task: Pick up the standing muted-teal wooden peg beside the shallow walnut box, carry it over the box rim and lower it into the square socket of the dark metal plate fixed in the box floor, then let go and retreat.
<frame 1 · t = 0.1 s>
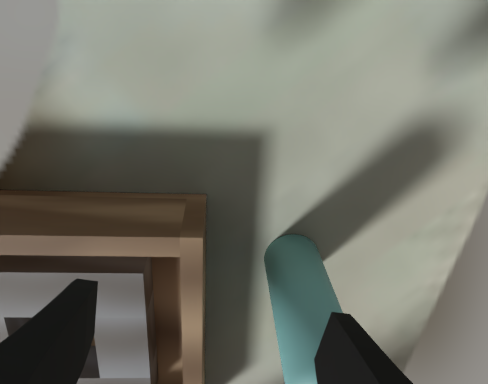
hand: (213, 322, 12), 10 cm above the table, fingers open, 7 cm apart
box: (73, 311, 24), on the table
peg: (291, 257, 24), on the table
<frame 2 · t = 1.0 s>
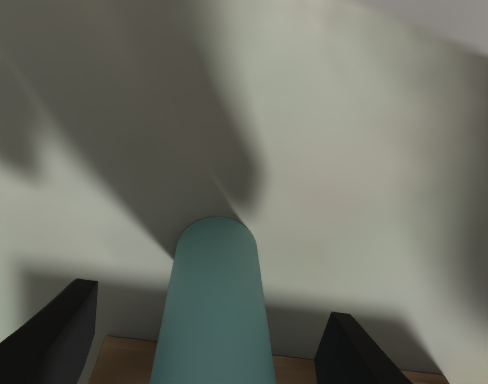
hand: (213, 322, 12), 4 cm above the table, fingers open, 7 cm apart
peg: (216, 252, 16), on the table
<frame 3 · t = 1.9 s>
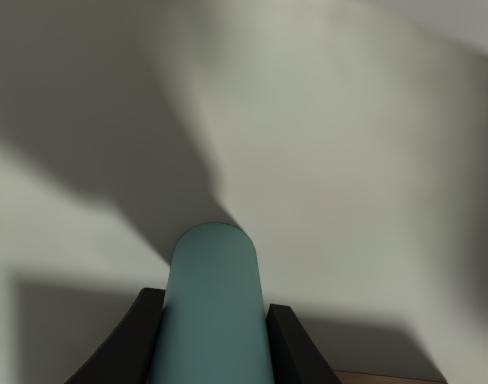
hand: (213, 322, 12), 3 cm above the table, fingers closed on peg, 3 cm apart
peg: (215, 259, 15), on the table, touching gripper
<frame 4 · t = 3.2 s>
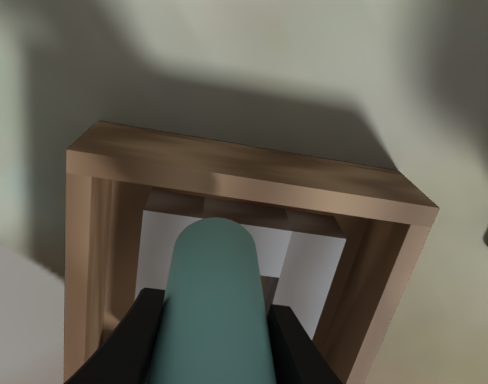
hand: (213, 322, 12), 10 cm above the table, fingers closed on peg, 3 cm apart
box: (229, 272, 24), on the table
peg: (215, 254, 15), point 7 cm above the table, touching gripper
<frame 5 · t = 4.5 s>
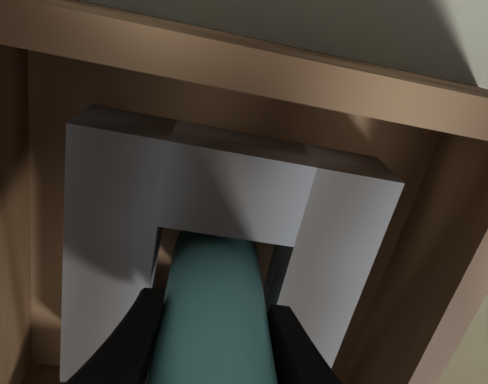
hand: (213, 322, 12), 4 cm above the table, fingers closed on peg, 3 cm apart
box: (216, 245, 16), on the table
peg: (215, 253, 15), point 1 cm above the table, touching gripper
when the fingers open (4 cm above the table, at t = 5.0 s): peg stays where it is, resting on box.
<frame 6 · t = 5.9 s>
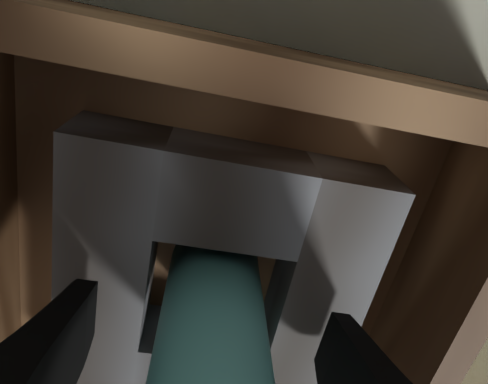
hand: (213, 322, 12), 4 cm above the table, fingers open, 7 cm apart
box: (215, 256, 16), on the table
peg: (214, 262, 15), point 1 cm above the table, touching box
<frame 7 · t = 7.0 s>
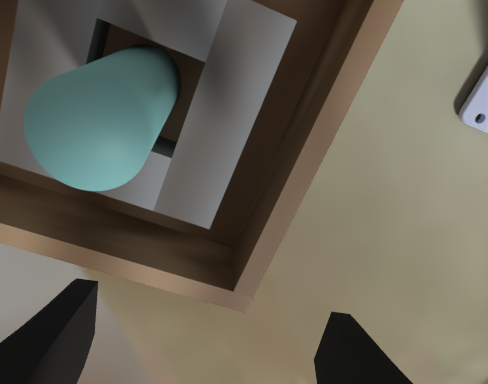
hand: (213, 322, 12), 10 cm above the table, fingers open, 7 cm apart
box: (149, 81, 19), on the table
peg: (146, 80, 19), point 1 cm above the table, touching box
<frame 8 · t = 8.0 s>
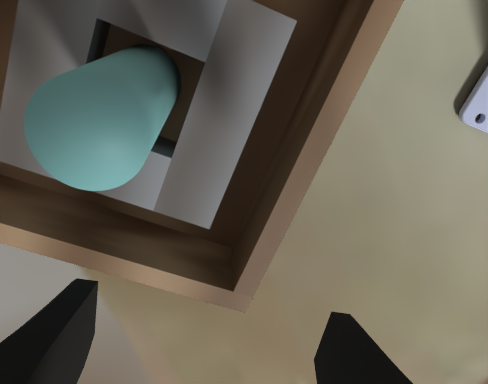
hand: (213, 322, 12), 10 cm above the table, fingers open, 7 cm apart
box: (149, 81, 19), on the table
peg: (146, 80, 19), point 1 cm above the table, touching box
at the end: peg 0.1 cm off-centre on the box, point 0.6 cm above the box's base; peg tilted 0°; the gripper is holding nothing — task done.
